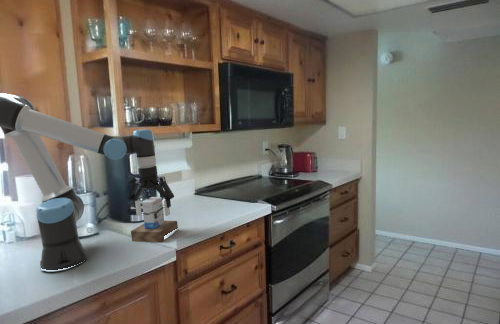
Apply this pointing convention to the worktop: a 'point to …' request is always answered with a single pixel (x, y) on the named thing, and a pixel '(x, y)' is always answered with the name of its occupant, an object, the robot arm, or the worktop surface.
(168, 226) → the walnut block
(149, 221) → the ink box
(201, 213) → the worktop surface
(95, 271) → the worktop surface
